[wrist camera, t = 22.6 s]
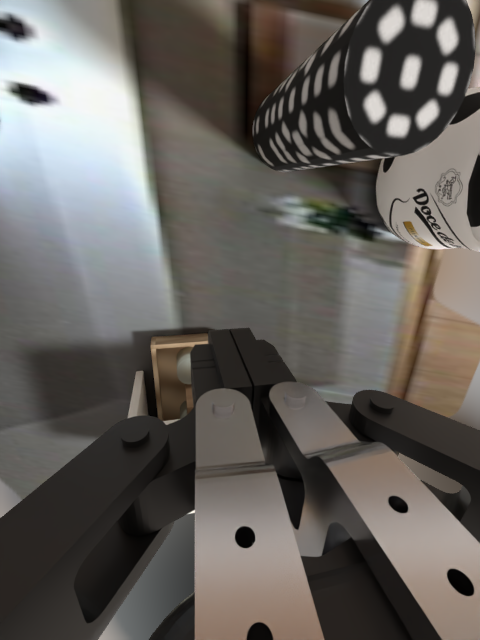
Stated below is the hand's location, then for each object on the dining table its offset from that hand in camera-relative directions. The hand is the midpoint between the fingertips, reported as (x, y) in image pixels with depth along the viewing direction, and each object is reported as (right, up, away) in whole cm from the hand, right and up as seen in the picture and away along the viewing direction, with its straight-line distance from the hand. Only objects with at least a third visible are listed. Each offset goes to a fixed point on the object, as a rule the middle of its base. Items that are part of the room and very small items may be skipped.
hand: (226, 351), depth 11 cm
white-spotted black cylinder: (+6, +23, +24) cm, 34 cm away
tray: (-7, -8, +34) cm, 36 cm away
